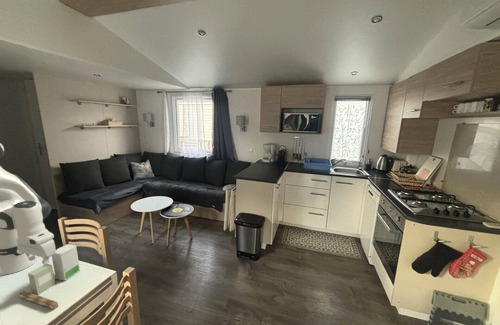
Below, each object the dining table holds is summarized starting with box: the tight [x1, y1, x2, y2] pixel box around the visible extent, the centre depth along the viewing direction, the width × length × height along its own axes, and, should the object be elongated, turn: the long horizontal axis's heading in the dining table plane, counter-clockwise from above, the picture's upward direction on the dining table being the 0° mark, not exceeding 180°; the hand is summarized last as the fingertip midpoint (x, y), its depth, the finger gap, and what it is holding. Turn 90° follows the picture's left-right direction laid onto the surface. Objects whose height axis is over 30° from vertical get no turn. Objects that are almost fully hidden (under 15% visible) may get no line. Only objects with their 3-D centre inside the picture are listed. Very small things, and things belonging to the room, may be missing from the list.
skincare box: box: [51, 243, 81, 282], centre depth 107 cm, size 8×7×16 cm
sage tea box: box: [27, 263, 56, 296], centre depth 98 cm, size 7×4×11 cm, turn 165°
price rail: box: [19, 290, 59, 311], centre depth 92 cm, size 22×2×2 cm, turn 75°
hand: (39, 261), depth 96 cm, fingers open, 8 cm apart
